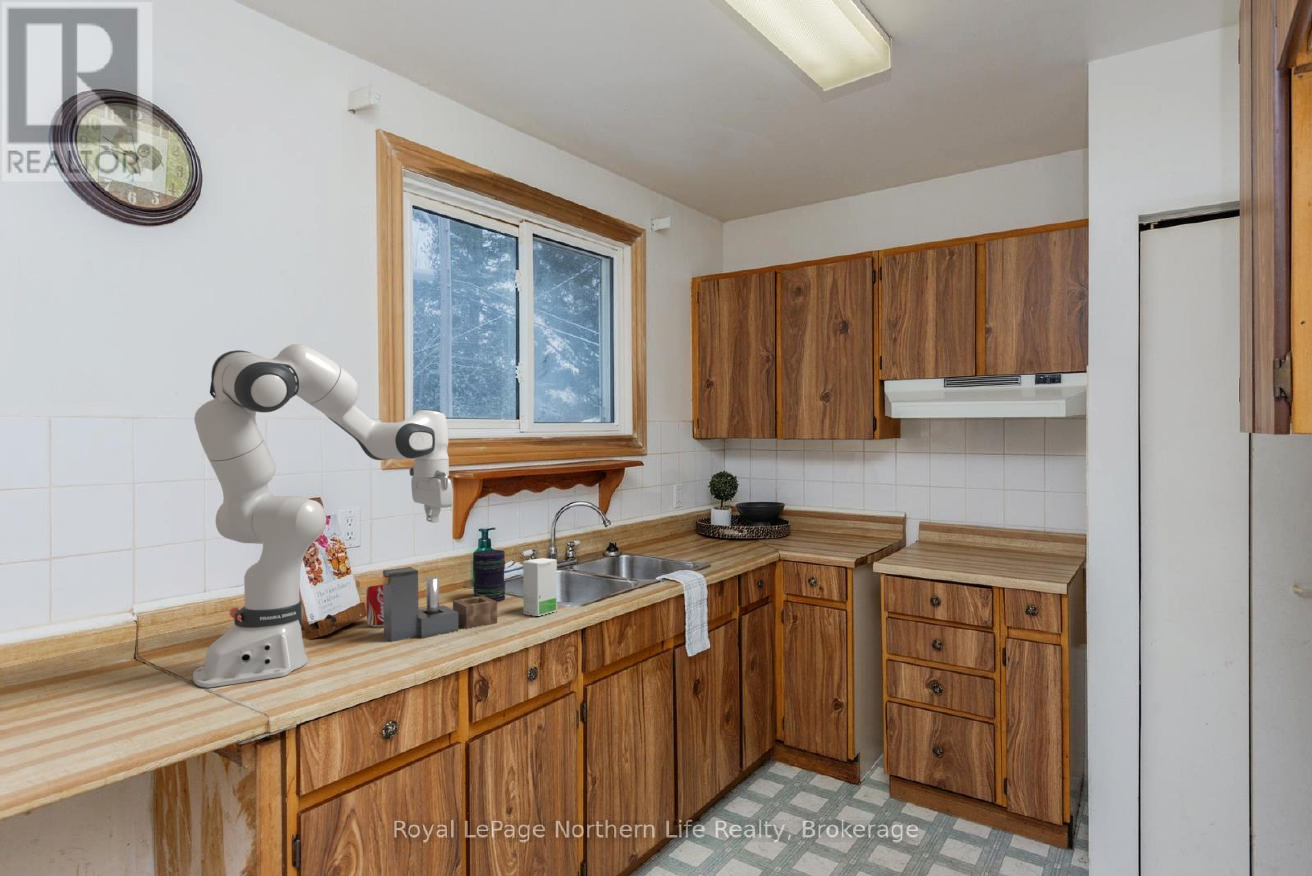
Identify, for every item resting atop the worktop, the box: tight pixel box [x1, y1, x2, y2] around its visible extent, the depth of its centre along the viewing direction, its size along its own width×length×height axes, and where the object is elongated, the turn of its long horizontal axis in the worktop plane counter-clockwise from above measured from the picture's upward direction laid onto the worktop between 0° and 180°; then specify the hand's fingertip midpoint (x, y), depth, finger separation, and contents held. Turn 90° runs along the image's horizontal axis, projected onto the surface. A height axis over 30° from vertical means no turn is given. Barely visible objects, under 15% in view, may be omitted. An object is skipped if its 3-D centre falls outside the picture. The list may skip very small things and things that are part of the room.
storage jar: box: [472, 549, 506, 603], centre depth 222 cm, size 10×10×15 cm
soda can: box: [366, 585, 384, 628], centre depth 194 cm, size 7×7×12 cm
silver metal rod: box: [425, 576, 440, 615], centre depth 188 cm, size 3×3×14 cm
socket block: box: [382, 566, 460, 643], centre depth 186 cm, size 17×10×17 cm, turn 129°
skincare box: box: [522, 557, 558, 617], centre depth 205 cm, size 8×7×16 cm
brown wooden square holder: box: [452, 596, 498, 630], centre depth 195 cm, size 9×9×6 cm
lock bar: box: [356, 576, 389, 589], centre depth 180 cm, size 14×2×2 cm, turn 129°
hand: (432, 521), depth 187 cm, fingers closed
